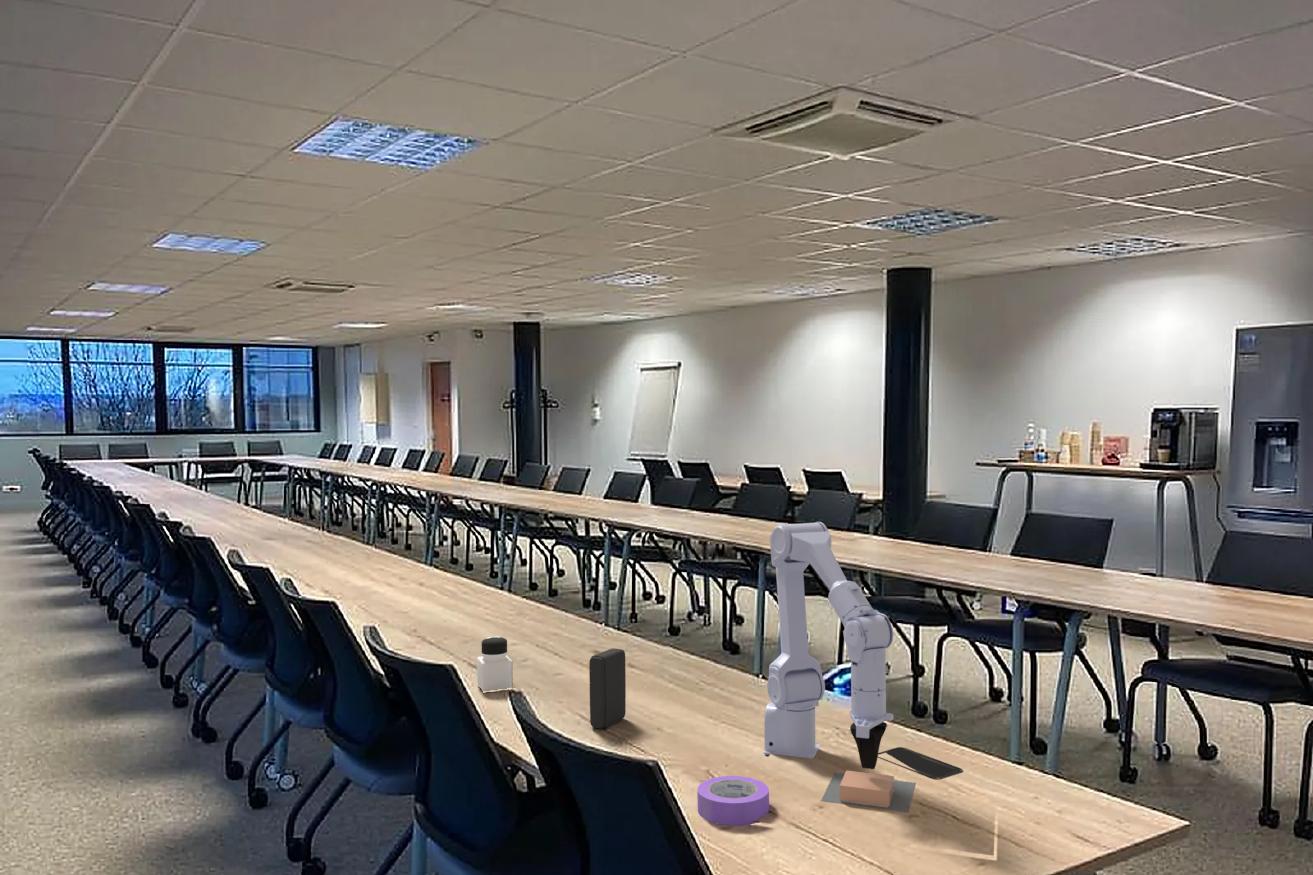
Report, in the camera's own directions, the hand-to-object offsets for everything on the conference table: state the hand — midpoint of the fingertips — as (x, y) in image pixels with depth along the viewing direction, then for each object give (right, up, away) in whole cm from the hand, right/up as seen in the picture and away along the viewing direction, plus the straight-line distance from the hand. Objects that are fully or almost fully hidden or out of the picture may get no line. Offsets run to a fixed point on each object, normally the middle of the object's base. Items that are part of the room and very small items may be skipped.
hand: (868, 767), depth 158 cm
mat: (0, -5, +1) cm, 5 cm away
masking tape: (-23, -6, -5) cm, 24 cm away
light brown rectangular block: (+1, -3, +2) cm, 3 cm away
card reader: (-46, -5, +40) cm, 61 cm away
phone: (+12, -5, +14) cm, 19 cm away
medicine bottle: (-74, -5, +66) cm, 100 cm away
